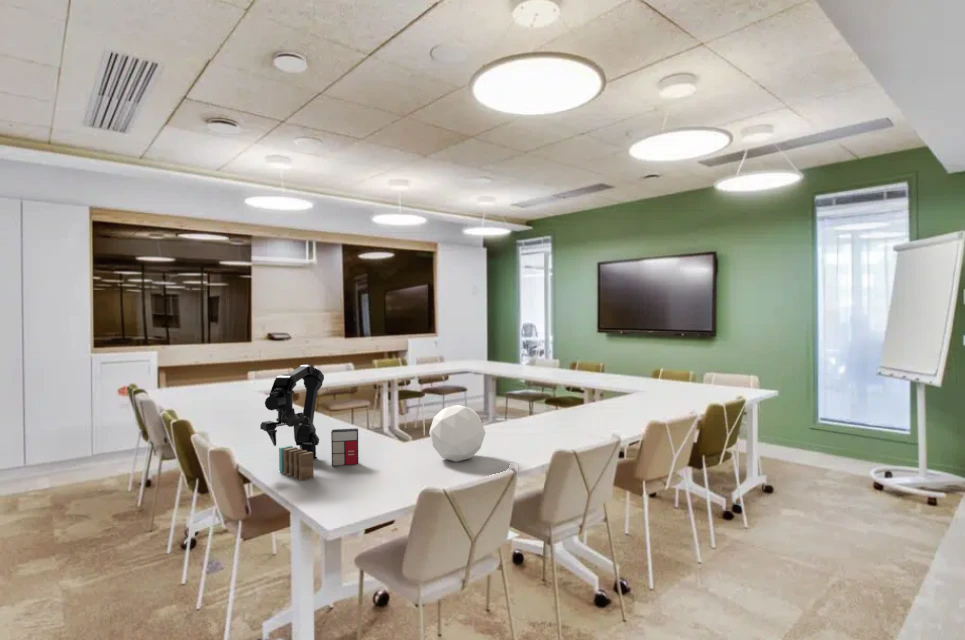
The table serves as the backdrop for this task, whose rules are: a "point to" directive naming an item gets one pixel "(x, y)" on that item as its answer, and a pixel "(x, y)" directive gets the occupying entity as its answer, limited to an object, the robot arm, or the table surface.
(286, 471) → the domino
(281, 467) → the domino
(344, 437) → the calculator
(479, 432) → the geometric sculpture
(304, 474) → the domino
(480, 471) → the table surface
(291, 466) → the domino
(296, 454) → the domino
